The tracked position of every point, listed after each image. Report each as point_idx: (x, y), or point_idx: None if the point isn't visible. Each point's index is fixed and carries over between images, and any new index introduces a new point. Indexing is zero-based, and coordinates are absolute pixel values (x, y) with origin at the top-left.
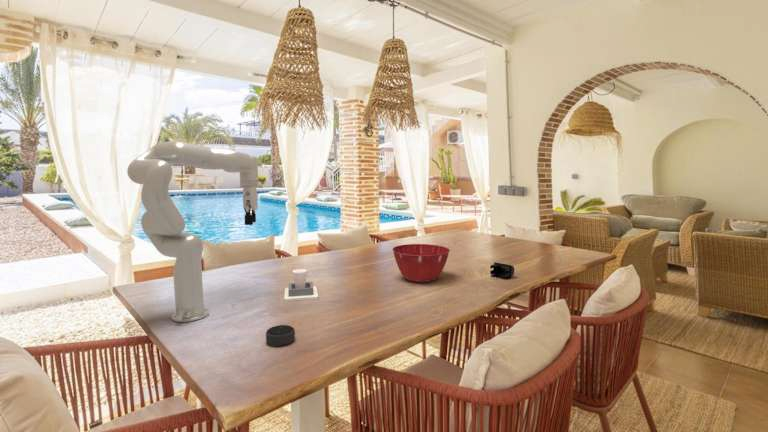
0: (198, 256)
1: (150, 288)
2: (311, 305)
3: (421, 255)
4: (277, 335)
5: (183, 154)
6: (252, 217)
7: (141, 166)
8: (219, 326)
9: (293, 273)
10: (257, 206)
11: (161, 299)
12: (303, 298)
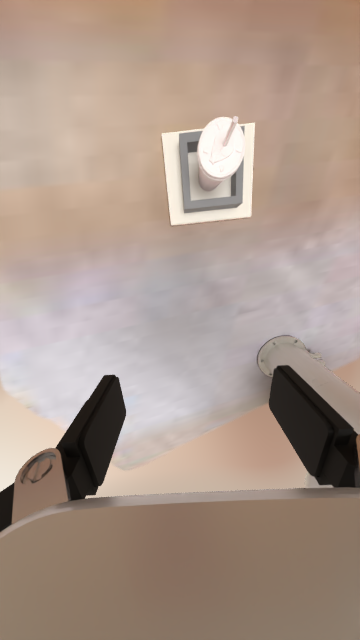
0: None
1: (135, 440)
2: (295, 144)
3: None
4: None
5: None
6: (331, 407)
7: None
8: (339, 307)
9: (230, 174)
10: (19, 600)
11: (191, 411)
12: (251, 168)
